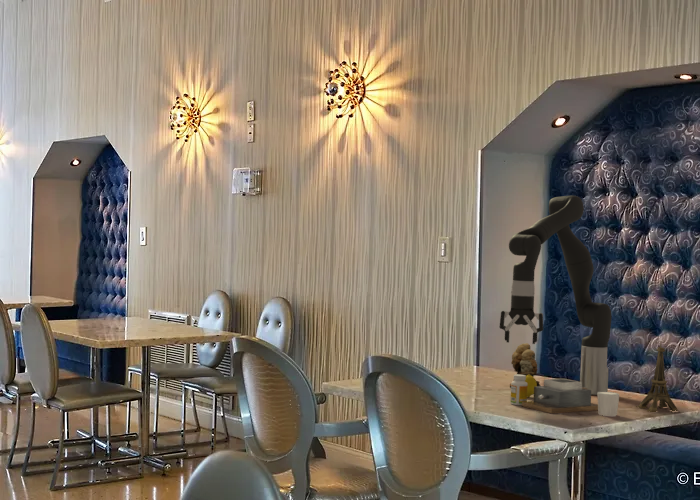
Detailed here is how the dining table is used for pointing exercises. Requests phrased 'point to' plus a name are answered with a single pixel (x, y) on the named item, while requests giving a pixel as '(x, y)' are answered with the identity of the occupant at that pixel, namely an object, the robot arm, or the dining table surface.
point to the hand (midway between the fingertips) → (520, 343)
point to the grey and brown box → (561, 397)
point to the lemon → (530, 385)
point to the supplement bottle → (518, 390)
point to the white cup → (607, 403)
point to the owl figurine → (524, 361)
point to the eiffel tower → (658, 388)
